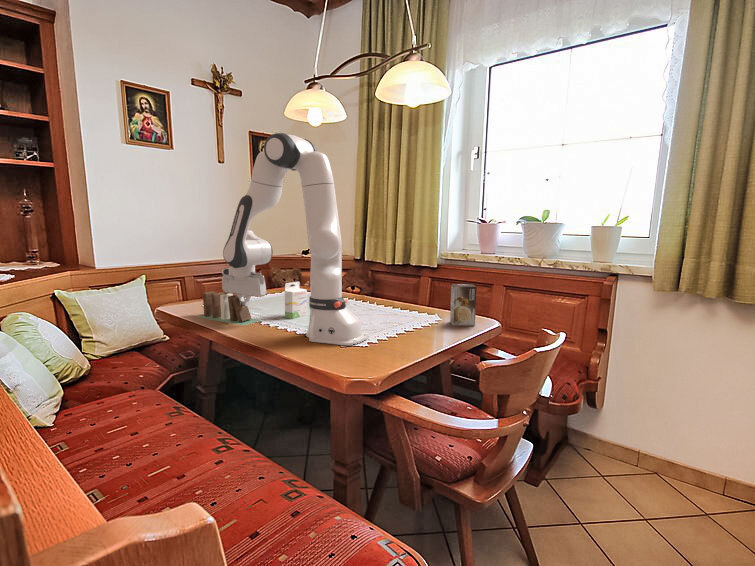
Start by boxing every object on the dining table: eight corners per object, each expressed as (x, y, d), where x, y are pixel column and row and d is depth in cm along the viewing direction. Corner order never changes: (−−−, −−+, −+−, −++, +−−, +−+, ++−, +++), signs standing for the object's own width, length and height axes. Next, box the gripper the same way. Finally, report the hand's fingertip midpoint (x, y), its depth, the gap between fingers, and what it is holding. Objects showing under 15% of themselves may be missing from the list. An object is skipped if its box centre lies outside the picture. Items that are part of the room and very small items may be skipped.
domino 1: (216, 314, 171) (215, 291, 169) (207, 316, 166) (205, 293, 165) (213, 313, 171) (212, 291, 170) (204, 316, 167) (202, 292, 165)
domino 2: (225, 315, 168) (224, 292, 167) (215, 318, 164) (214, 294, 162) (222, 315, 169) (221, 292, 168) (212, 317, 165) (211, 294, 163)
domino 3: (242, 318, 164) (240, 294, 163) (233, 321, 160) (231, 296, 158) (239, 318, 165) (237, 294, 164) (230, 320, 160) (227, 296, 159)
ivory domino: (233, 317, 166) (232, 293, 165) (224, 319, 162) (223, 295, 160) (230, 316, 167) (229, 293, 165) (221, 319, 162) (220, 295, 161)
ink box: (292, 319, 165) (291, 284, 163) (284, 317, 168) (283, 283, 165) (307, 316, 172) (307, 282, 169) (300, 314, 175) (299, 281, 172)
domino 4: (251, 318, 162) (243, 295, 162) (242, 321, 157) (234, 297, 158) (248, 319, 163) (240, 296, 163) (239, 322, 158) (231, 298, 158)
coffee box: (471, 321, 167) (473, 283, 164) (475, 325, 160) (477, 286, 158) (449, 321, 166) (451, 283, 164) (452, 325, 160) (454, 286, 157)
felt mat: (262, 320, 163) (262, 320, 163) (244, 326, 154) (243, 325, 154) (215, 312, 175) (215, 312, 175) (195, 317, 166) (195, 316, 166)
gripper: (269, 272, 155) (270, 307, 157) (230, 268, 164) (232, 301, 166) (257, 274, 149) (258, 310, 152) (218, 269, 158) (220, 304, 160)
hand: (244, 305), depth 159 cm, fingers closed
